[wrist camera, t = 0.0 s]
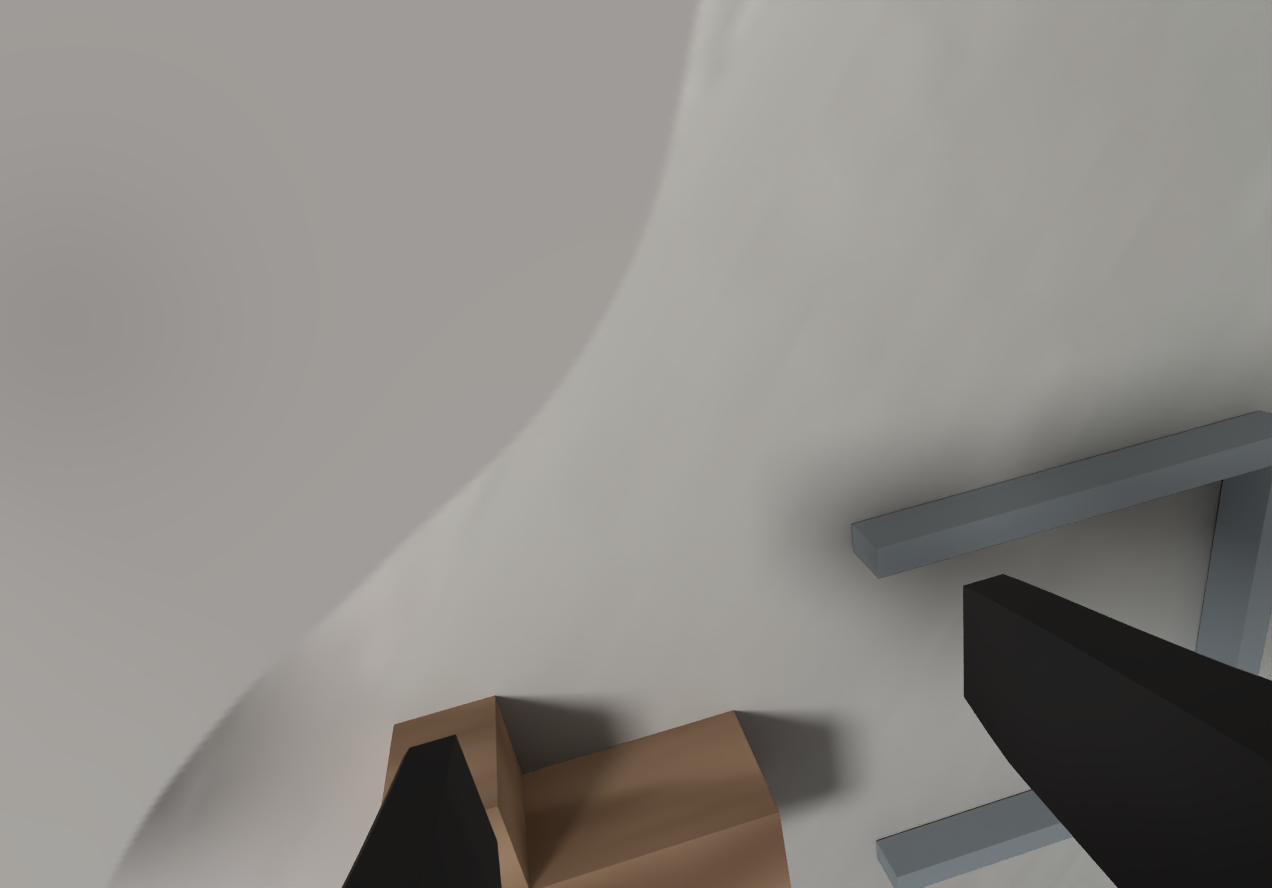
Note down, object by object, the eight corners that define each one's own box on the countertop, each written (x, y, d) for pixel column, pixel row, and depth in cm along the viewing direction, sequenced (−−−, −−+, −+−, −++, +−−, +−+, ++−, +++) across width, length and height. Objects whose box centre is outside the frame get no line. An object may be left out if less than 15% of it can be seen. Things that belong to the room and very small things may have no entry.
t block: (757, 849, 26) (802, 961, 23) (486, 936, 25) (486, 1069, 22) (719, 630, 22) (765, 724, 19) (393, 724, 21) (375, 843, 17)
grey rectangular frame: (1200, 751, 29) (1236, 781, 28) (877, 858, 28) (898, 895, 26) (1260, 410, 23) (1309, 427, 22) (851, 524, 22) (876, 549, 20)
